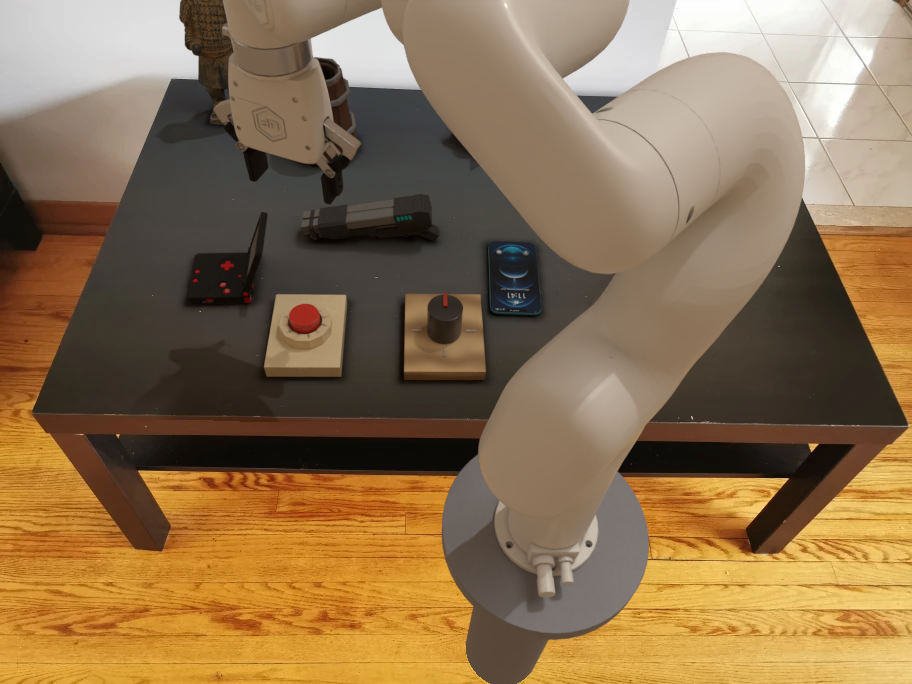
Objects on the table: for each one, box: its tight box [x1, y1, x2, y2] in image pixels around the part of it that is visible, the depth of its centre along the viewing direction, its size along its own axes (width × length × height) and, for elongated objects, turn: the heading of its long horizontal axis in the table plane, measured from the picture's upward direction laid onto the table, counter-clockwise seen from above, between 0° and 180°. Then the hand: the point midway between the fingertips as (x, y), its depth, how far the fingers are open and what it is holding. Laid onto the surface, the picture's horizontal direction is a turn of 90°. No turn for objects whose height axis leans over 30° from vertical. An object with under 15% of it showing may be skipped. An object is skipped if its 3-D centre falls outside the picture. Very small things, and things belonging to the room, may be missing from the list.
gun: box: [300, 193, 440, 242], centre depth 111 cm, size 4×20×10 cm, turn 91°
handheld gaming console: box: [185, 211, 269, 305], centre depth 101 cm, size 9×12×10 cm
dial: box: [427, 292, 463, 344], centre depth 97 cm, size 5×5×5 cm
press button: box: [289, 304, 320, 334], centre depth 96 cm, size 4×4×2 cm
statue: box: [178, 0, 234, 126], centre depth 119 cm, size 10×8×30 cm
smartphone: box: [487, 240, 542, 316], centre depth 108 cm, size 8×1×15 cm
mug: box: [309, 56, 358, 167], centre depth 122 cm, size 16×12×15 cm
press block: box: [263, 293, 348, 378], centre depth 98 cm, size 13×10×4 cm
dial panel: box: [403, 293, 487, 381], centre depth 99 cm, size 14×11×2 cm
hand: (296, 185), depth 82 cm, fingers open, 9 cm apart
